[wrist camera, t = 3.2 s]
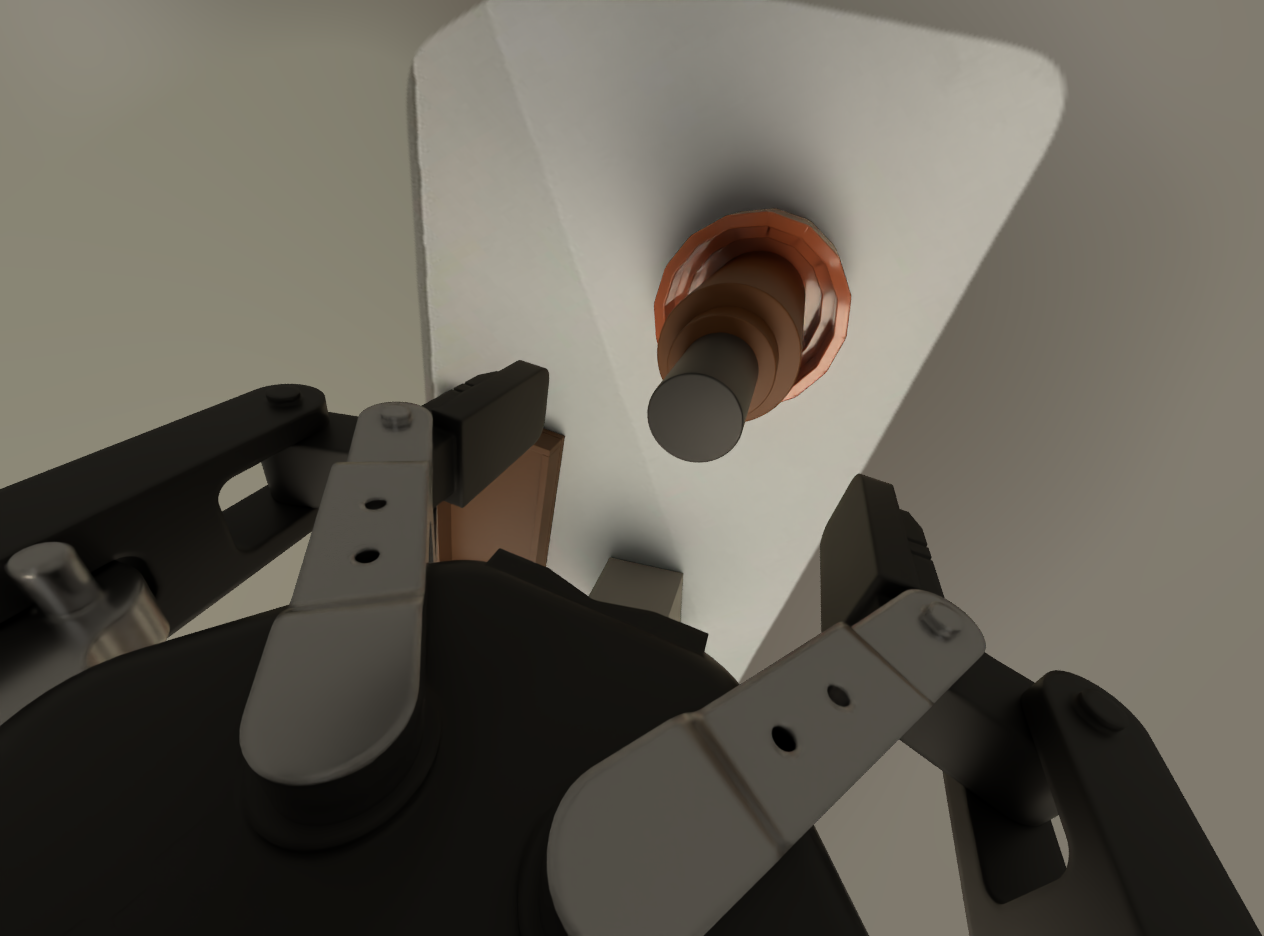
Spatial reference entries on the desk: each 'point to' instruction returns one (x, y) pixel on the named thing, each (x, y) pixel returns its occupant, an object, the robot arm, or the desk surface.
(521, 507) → the tray
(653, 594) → the perfume bottle
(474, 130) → the desk surface
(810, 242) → the bowl
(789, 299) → the bottle
